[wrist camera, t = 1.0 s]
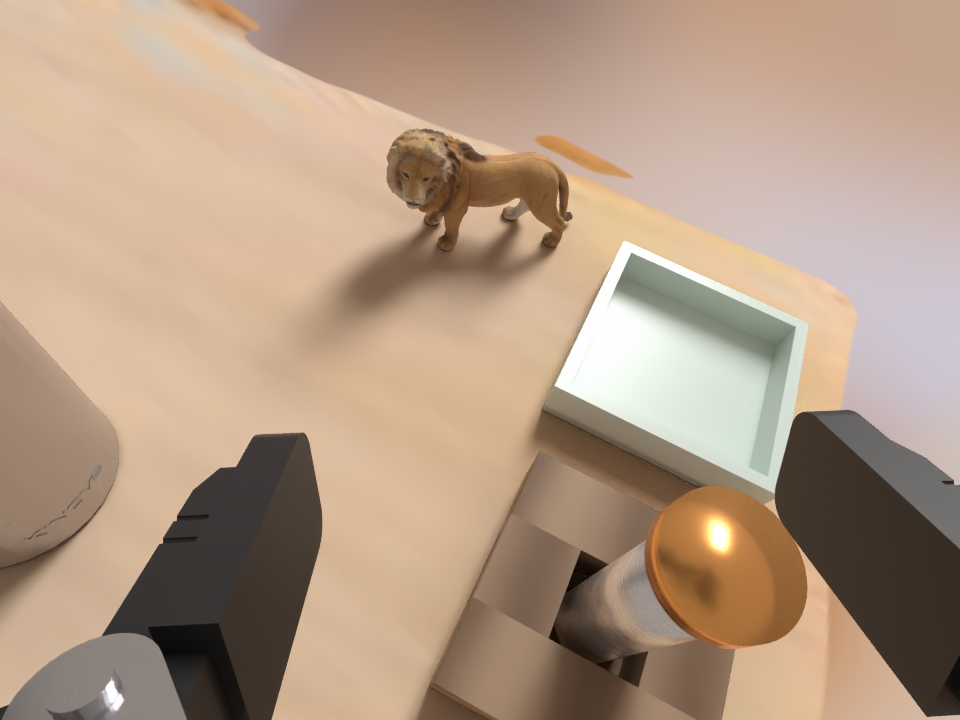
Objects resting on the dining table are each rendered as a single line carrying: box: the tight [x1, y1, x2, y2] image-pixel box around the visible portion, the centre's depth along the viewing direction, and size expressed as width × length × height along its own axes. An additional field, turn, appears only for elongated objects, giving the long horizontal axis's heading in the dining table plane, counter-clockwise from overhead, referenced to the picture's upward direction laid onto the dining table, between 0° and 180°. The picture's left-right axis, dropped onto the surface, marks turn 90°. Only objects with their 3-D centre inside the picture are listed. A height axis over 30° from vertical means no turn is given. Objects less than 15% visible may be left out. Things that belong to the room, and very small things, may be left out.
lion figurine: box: [387, 129, 573, 251], centre depth 39 cm, size 15×5×9 cm, turn 109°
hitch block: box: [429, 452, 735, 720], centre depth 28 cm, size 12×12×3 cm
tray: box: [543, 241, 809, 505], centre depth 37 cm, size 14×14×3 cm
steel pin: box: [554, 486, 807, 664], centre depth 23 cm, size 5×5×14 cm
